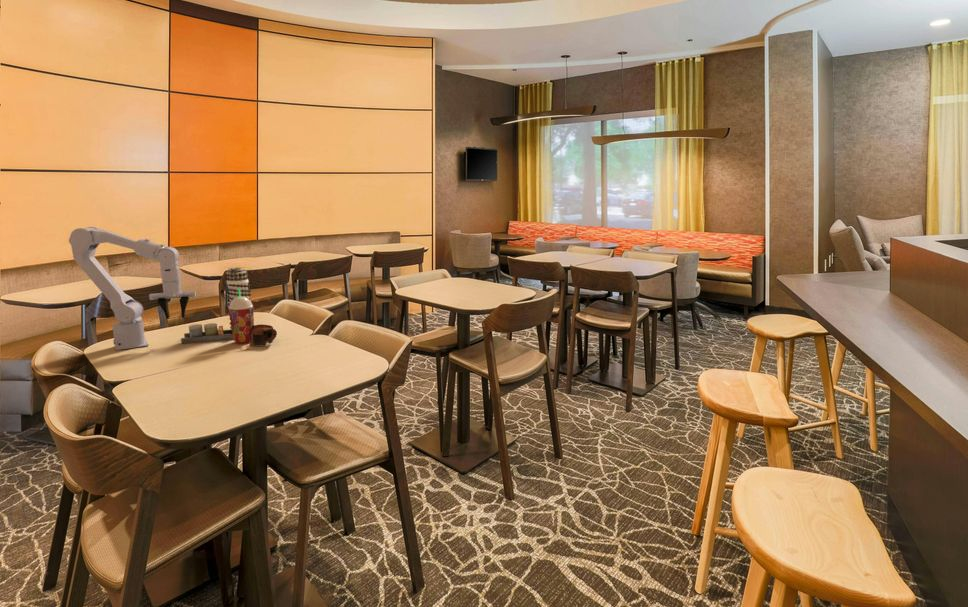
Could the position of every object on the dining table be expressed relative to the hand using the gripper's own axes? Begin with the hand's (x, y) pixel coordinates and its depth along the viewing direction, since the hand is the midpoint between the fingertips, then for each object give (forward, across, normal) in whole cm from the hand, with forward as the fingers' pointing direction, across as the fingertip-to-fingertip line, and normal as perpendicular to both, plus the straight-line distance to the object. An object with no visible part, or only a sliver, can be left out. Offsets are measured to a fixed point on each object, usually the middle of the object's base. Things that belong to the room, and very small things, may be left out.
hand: (175, 317), depth 195 cm
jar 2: (+9, +11, 0) cm, 14 cm away
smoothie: (+10, +23, -9) cm, 26 cm away
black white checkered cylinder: (+10, +21, +12) cm, 26 cm away
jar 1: (+9, +6, 0) cm, 11 cm away
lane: (+9, +10, 0) cm, 14 cm away
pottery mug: (+10, +29, -13) cm, 34 cm away
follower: (+9, +14, 0) cm, 17 cm away
